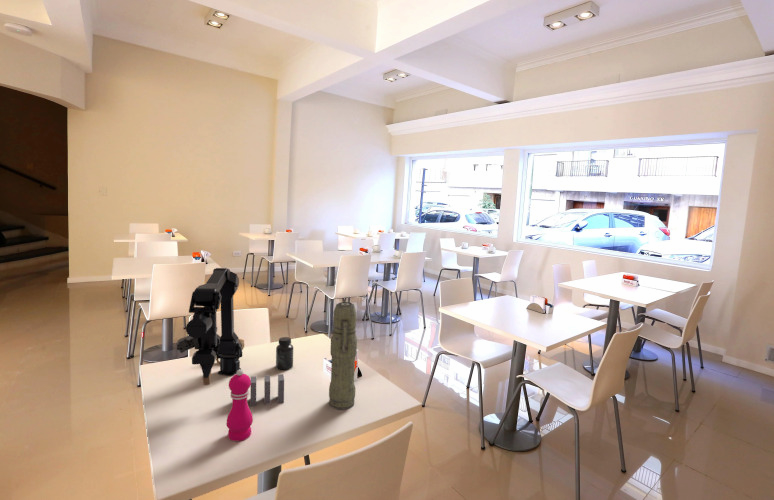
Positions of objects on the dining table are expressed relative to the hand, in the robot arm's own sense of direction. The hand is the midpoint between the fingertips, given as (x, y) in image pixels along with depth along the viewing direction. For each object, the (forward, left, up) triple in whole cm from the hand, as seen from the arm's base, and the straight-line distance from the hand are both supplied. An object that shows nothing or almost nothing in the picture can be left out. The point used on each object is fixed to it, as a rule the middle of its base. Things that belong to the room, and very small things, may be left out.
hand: (207, 373), depth 131 cm
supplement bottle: (+8, +38, -12) cm, 41 cm away
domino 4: (+19, +13, -12) cm, 26 cm away
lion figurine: (-17, +37, -12) cm, 42 cm away
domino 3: (+15, +11, -12) cm, 22 cm away
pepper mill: (+18, -10, -12) cm, 24 cm away
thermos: (+40, +17, -12) cm, 45 cm away
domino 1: (0, 0, -3) cm, 3 cm away
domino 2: (+11, +9, -12) cm, 19 cm away
